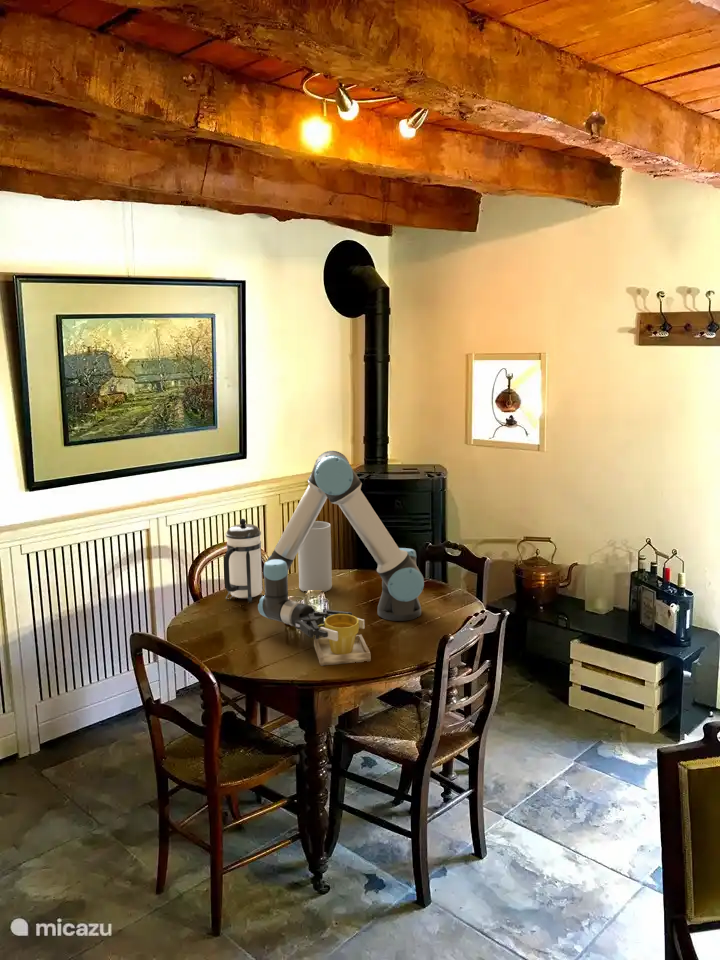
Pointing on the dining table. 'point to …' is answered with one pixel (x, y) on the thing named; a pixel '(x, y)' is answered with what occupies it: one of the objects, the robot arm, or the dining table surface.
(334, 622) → the plant pot
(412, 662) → the dining table surface
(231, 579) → the coffee press
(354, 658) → the birch tray
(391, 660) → the dining table surface
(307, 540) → the cylinder vase
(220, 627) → the dining table surface
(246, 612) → the dining table surface
